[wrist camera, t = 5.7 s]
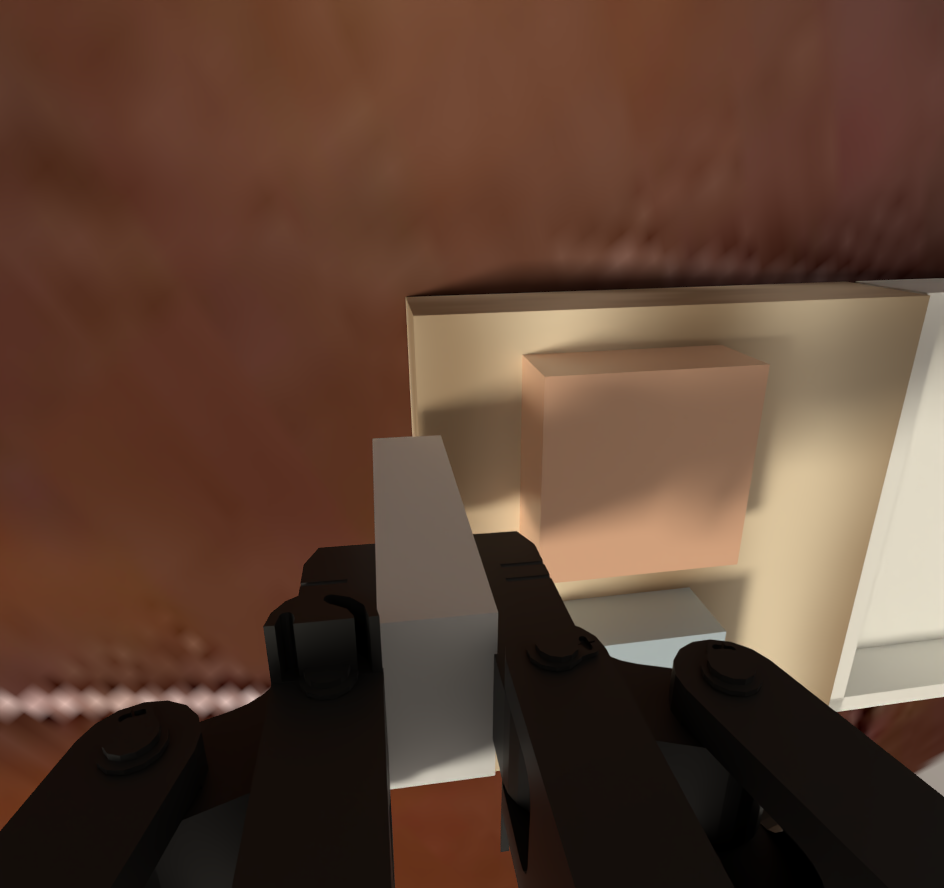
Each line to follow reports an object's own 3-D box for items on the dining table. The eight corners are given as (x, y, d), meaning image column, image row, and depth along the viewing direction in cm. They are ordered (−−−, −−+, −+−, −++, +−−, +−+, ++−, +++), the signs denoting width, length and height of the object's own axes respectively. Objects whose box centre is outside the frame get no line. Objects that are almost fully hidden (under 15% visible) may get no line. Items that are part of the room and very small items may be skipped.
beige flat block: (426, 706, 22) (435, 780, 19) (405, 296, 17) (413, 315, 14) (770, 662, 24) (823, 723, 21) (846, 281, 19) (930, 295, 16)
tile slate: (515, 744, 19) (531, 801, 17) (518, 605, 17) (536, 654, 15) (671, 722, 20) (703, 776, 18) (689, 587, 18) (726, 631, 16)
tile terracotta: (519, 541, 16) (538, 584, 15) (522, 354, 15) (544, 377, 13) (697, 525, 17) (737, 564, 15) (721, 344, 15) (770, 364, 14)
